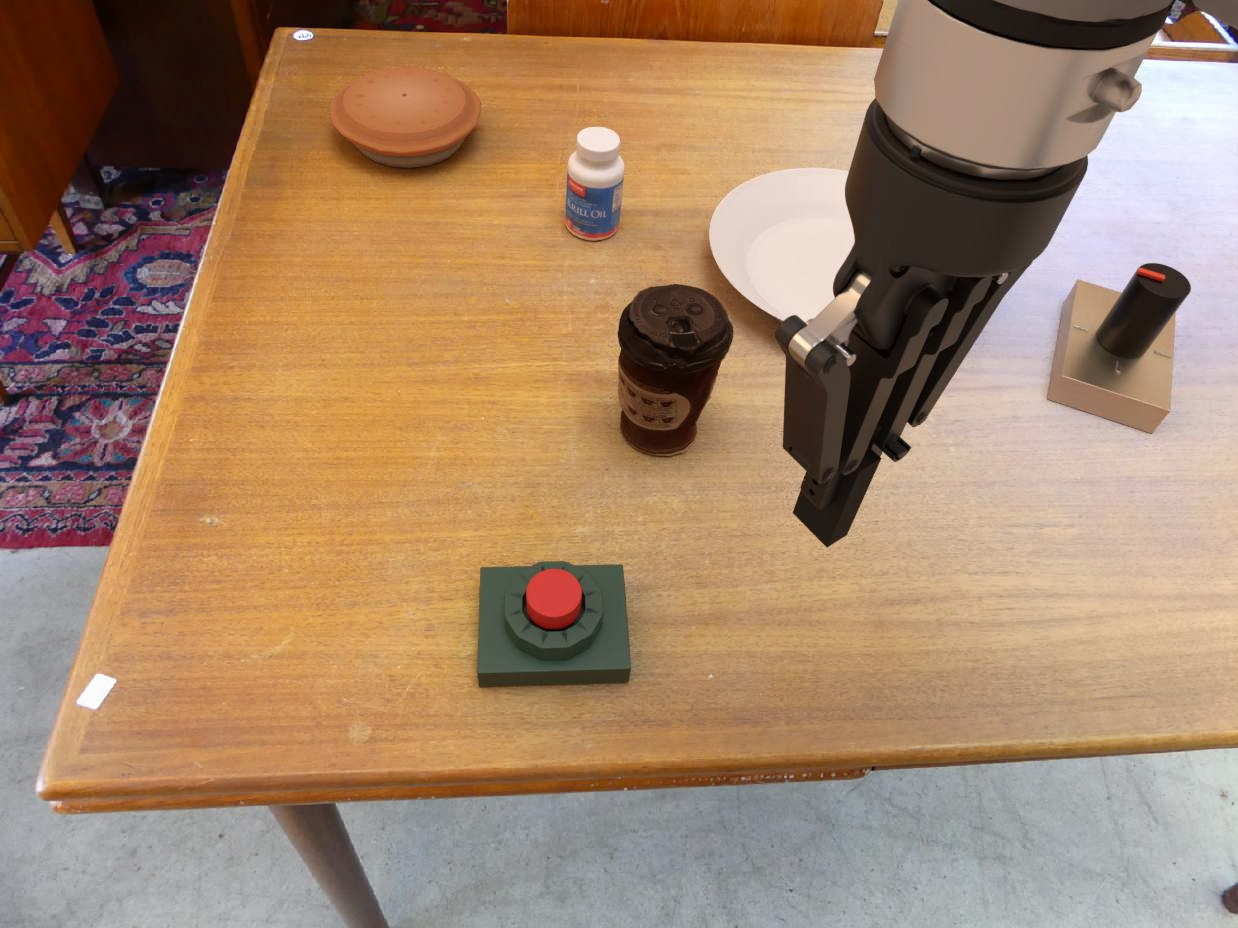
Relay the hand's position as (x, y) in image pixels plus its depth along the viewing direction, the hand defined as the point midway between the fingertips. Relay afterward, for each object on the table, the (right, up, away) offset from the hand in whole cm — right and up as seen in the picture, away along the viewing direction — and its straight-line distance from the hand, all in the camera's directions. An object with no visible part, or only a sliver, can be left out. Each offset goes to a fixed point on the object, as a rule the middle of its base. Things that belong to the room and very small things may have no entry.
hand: (819, 523), depth 49 cm
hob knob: (+34, +14, +33) cm, 49 cm away
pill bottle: (-13, +27, +42) cm, 52 cm away
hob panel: (+34, +12, +35) cm, 50 cm away
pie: (-33, +38, +49) cm, 71 cm away
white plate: (+10, +21, +40) cm, 46 cm away
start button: (-15, -6, +12) cm, 20 cm away
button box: (-15, -8, +15) cm, 23 cm away
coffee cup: (-8, +6, +27) cm, 28 cm away
